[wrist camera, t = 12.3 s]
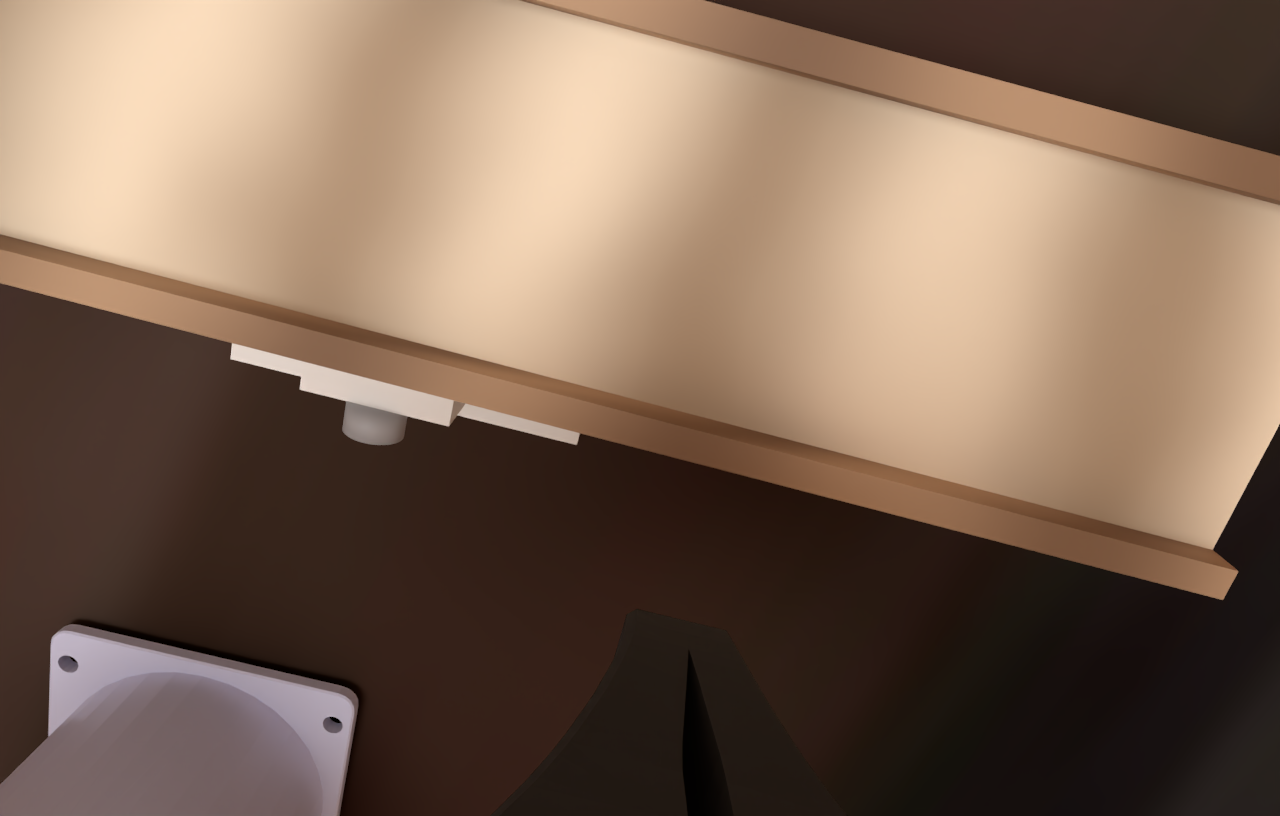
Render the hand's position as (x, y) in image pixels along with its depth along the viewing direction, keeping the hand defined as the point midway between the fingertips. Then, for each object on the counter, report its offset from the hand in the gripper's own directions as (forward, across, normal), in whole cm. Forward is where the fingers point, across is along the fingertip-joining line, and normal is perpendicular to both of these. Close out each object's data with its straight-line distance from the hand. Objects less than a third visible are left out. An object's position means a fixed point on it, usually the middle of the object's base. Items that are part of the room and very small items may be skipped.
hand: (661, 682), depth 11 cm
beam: (+6, +6, -5) cm, 10 cm away
